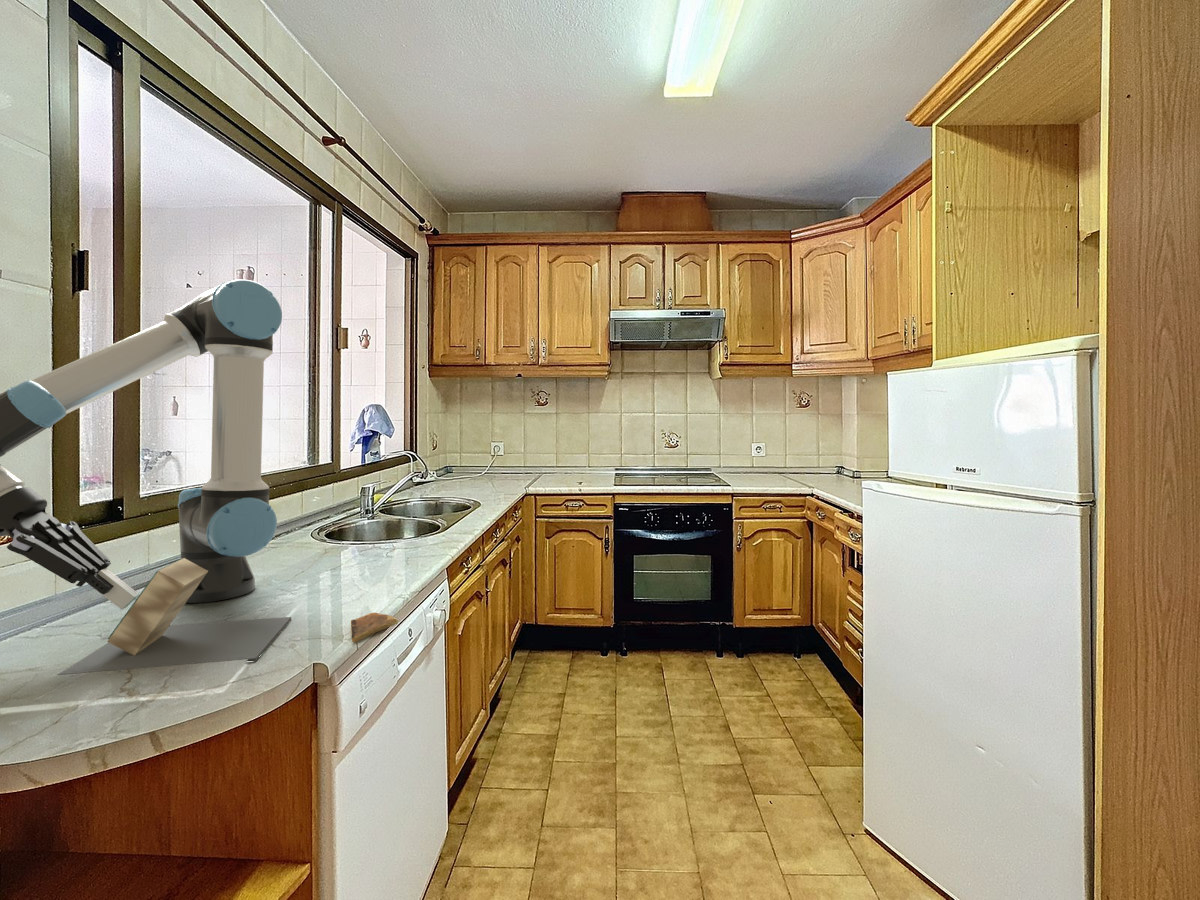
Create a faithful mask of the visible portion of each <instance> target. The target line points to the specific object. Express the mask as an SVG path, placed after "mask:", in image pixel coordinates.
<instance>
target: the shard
mask: <svg viewBox="0 0 1200 900" xmlns="http://www.w3.org/2000/svg"><path fill="white" fill-rule="evenodd" d="M398 623H399V620H398V618H396V617H394V616H392V615H389V614H384V613H381V612H370V613H367V614H365V615H363V616H360V617H358V618H355V619H351V620H350V633H351V640H352V641H351V642H353V643H357V642H359V641H360V640H362V639H365V638H367V637H368V636H371V635H372V634H376V633H377V632H380V631H383V630H385V629H388V628H390V627H393V626H395V625H396V624H397V625H398Z"/></svg>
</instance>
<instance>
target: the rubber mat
mask: <svg viewBox="0 0 1200 900" xmlns="http://www.w3.org/2000/svg"><path fill="white" fill-rule="evenodd" d="M291 621H292V616H289V617H288V616H286V617H285V616H283V617H271V618H259V619H258V618H256V619H255V618H254V619H244V620H242V619H241V620H240V619H239V620H231V621H230V620H227V621H215V622H214V621H213V622H202V623H186V624H170V626H169V627H168V628H167V630H166V631H165V632H164V634H163V635H162V636H161V637H160V638H158V639H157V640H155V641H154V642H153V643H151V644H150V645H149V646H147V647H146V648H144V649H143V650H142V651H140V652H139V653H137V654H136V655H135V656H134V655H132V654H130V653H128V652H126V651H124V650H122V649H120V648H118V647H116V646H114V645H112V644H110V643H108V642H107V643H105V644H104V645H102V646H101V647H99V648H97V649H95V651H93V652H91V653H90V654H88V655H87V656H85V657H84V658H82V659H80V660H79V661H77V662H75V663H73V664H72V665H71V666H69V667H67V668H66V669H65V670H64V669H63V671H61V672H60V673H58V674H57V676H61V675H72V674H73V675H74V674H83V673H84V674H85V673H95V672H108V671H122V670H132V669H146V668H155V667H157V668H158V667H169V666H180V665H192V664H193V665H194V664H203V663H204V664H205V663H215V662H216V663H217V662H218V663H219V662H229V661H239V660H241V661H243V660H246V661H256V660H257V659H258V658H259V656H260V655H261V654H262V653H263V652H264V651H265V652H266V651H267V649H268V648H269V647H270V646H271V645H272V643H273V642H274V641H276V639H277V638H276V637H279V635H280V634H281V633H282V632H283V631H284V630H285V628H286V627H287V626H288V625H289V623H290V622H291ZM281 631H282V632H281ZM270 644H271V645H270ZM269 645H270V646H269ZM268 646H269V647H268ZM266 648H267V649H266ZM265 652H264V653H265ZM264 653H263V654H264ZM263 654H262V655H263ZM262 655H261V656H262ZM261 656H260V657H261ZM259 659H260V658H259ZM259 659H258V660H259ZM258 660H257V661H258ZM257 661H256V662H257Z"/></svg>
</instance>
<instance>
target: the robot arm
mask: <svg viewBox="0 0 1200 900" xmlns="http://www.w3.org/2000/svg"><path fill="white" fill-rule="evenodd" d="M163 317H164V318H163V321H161V322H159V323H157V324H155V325H152V326H150V327H147V328H146V329H144V330H141V331H139V332H137V333H135V334H132V335H130V336H128V337H126V338H123V339H121V340H119V341H116V342H114V343H112V344H109V345H108V346H105V347H103V348H101V349H99V350H96V351H94V352H92V353H90V354H88V355H85V356H82V357H81V358H78V359H76V360H74V361H72V362H68V363H67V364H64V365H63V366H59V367H58V368H56V369H53V370H51V371H49V372H47V373H44V374H42V375H40V376H38V377H36V378H34V379H31V380H25V381H23V382H20V383H19V384H17V385H15V386H12V387H10V388H8V389H7V390H5V391H3V392H2V393H0V458H1V457H3V456H5V455H6V454H7V453H9V452H10V451H12V450H14V449H16V448H18V447H19V446H21V445H22V444H24V443H26V442H27V441H29V440H30V439H32V438H34V437H35V436H37V435H39V434H41V433H42V432H43V431H45V430H46V429H51V428H52V427H53V425H55V424H56V423H57V422H59V421H60V420H62V419H63V418H64V417H66V416H67V415H68V414H70V413H71V412H74V411H76V410H78V409H79V408H82V407H84V406H86V405H89V404H91V403H93V402H95V401H97V400H99V399H101V398H103V397H106V396H107V395H109V394H111V393H113V392H115V391H117V390H119V389H122V388H124V387H126V386H128V385H130V384H131V383H133V382H136V381H138V380H140V379H142V378H144V377H146V376H148V375H150V374H152V373H154V372H156V371H159V370H161V369H162V368H164V367H167V366H169V365H171V364H173V363H175V362H177V361H178V360H179V361H180V360H181V359H183V358H185V357H187V356H190V357H199V356H201V355H204V354H205V353H210V354H211V355H212V356H213V374H212V375H213V377H212V382H213V383H212V417H211V418H212V419H211V420H212V421H211V422H212V423H211V425H212V427H211V460H210V461H211V463H210V467H211V468H210V479H209V480H208V481H207V482H206V483H205V484H203V485H202V486H201V487H197V488H194V487H193V488H188V489H183V490H182V491H180V493H179V495H178V503H177V509H178V523H179V527H178V528H179V544H180V545H179V548H180V551H179V552H180V559H183V558H185V559H187V560H189V561H191V562H193V563H194V564H196V565H198V566H200V567H202V568H204V569H205V570H207V571H208V572H207V574H206V575H205V577H204V578H203V579H202V581H201V582H200V584H199V585H198V586H197V588H196V589H195V591H194V592H193V593H192V595H191V596H190V598H189V599H188V600H187V602H186V603H185V604H197V603H199V604H200V603H208V602H209V603H210V602H211V603H212V602H218V601H224V600H228V599H233V598H237V597H238V598H239V597H240V596H243V595H246V594H249V593H251V592H253V591H254V590H255V589H256V578H255V575H254V573H253V571H252V568H251V567H250V564H249V561H248V559H247V556H251V555H254V554H256V553H258V552H260V551H262V550H263V549H264V548H265V547H266V546H267V545H268V544H269V543H271V541H272V539H273V538H274V536H275V534H276V532H277V531H276V530H277V526H278V520H277V519H278V518H277V515H276V512H275V510H274V509H273V508H272V505H270V486H269V485H268V484H267V482H265V481H263V479H262V454H263V453H262V451H263V450H262V448H263V412H264V411H263V406H264V405H263V404H264V403H263V402H264V375H265V374H264V370H265V369H264V366H265V361H266V359H268V358H269V357H270V356H271V355H272V354H273V353H274V352H273V347H274V345H273V344H274V335H275V334H276V333H277V331H278V330H279V328H280V326H281V324H282V320H283V312H282V306H281V304H280V302H279V299H277V297H276V296H275V294H273V292H272V291H271V290H270V289H269V288H267V287H266V286H264V285H263V284H261V283H259V282H257V281H254V280H249V279H233V280H227V281H224V282H222V283H221V284H219V285H218V286H216V287H213V288H210V289H208V290H206V291H204V292H203V293H201V294H200V295H198V296H197V297H195V298H193V299H192V300H191V301H189V302H187V303H186V304H184V305H182V306H181V307H179V308H177V309H175V310H173V311H171V312H169V313H166V314H165V315H164V316H163ZM47 506H48V501H47V500H46V499H45V498H43V496H41V495H40V494H39V493H37V492H36V491H35V490H34V489H32V488H31V487H29V486H26V483H25V482H24V481H23V480H22V479H20V478H19V477H18V476H16V475H15V474H14V473H12V472H11V471H9V469H7V468H5V466H3V465H1V464H0V537H4V536H9V537H10V538H11V539H12V541H11V542H10V543H9V544H8V545H7V546H6V549H7V550H8V551H11V552H12V553H13V552H14V553H15V554H18V555H21V556H24V557H26V558H27V559H28V560H29V561H32V562H34V563H36V564H38V565H39V566H41V567H42V568H44V569H46V570H48V571H49V572H51V573H53V574H55V575H57V576H58V577H59V578H61V579H63V580H65V581H66V582H68V583H70V584H75V586H77V587H80V588H81V587H83V586H84V585H85V584H87V585H88V586H90V587H91V588H93V589H94V590H95V591H97V592H98V593H99V594H101V596H103V597H105V598H106V599H107V600H109V601H110V602H111V603H112V604H114V605H115V606H116V607H118V608H119V609H120V610H124V609H126V608H127V607H129V606H130V605H131V604H132V603H134V602H135V600H136V599H137V598H138V596H139V595H140V594H141V593H139V592H137V591H136V590H134V589H133V588H132V587H131V586H130V585H128V584H127V583H125V582H124V581H123V580H122V579H120V578H119V577H118V576H117V575H115V574H114V573H113V572H111V571H110V570H109V569H108V567H109V566H110V565H112V562H111V560H110V559H109V558H108V556H107V555H105V553H103V552H102V551H101V550H100V549H99V548H98V546H96V545H95V543H93V541H92V540H90V538H88V536H87V535H86V534H84V532H83V531H82V530H81V528H80V527H79V525H78V523H77V522H75V521H73V520H70V521H68V522H67V524H65V523H62V522H60V521H59V520H58V518H57V517H55V516H52V515H50V514H48V513H46V508H47ZM77 582H78V583H77Z"/></svg>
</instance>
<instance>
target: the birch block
mask: <svg viewBox="0 0 1200 900" xmlns="http://www.w3.org/2000/svg"><path fill="white" fill-rule="evenodd" d="M207 572H208V571H207V570H205V569H204V568H202V567H200V566H198V565H196V564H194V563H193V562H191V561H189V560H187V559H185V558H183V559H181V558H180V559H179V560H176V561H175V562H173V563H170V564H168V565H167V566H164V567H163V568H162V567H161V568H160V569H158V570H156V571H155V572H154V574H153V575H152V577H151V579H150V580H149V581H148V583H147V584H146V585H145V586H144V588H143V590H142V591H141V592H140V593H139V594H140V595H139V596H138V597H137V598H136V599H135V600H134V601H133V602H132V605H131V606H130V607H129V609H128V610H127V612H125V615H124V616H123V617H122V618H121V620H120V621H119V622H118V624H117V625H116V627H114V630H113V631H112V632H111V633H110V635H109V636H108V638H107V641H106V642H107V643H110V644H112V645H114V646H116V647H118V648H120V649H122V650H124V651H126V652H128V653H130V654H132V655H134V656H135V655H136V654H137V653H139V652H140V651H142V650H143V649H144V648H146V647H147V646H149V645H150V644H151V643H153V642H154V641H155V640H157V639H158V638H160V637H161V636H162V635H163V634H164V632H165V631H166V630H167V628H168V627H169V626H170V625H172V623H173V622H174V620H175V619H176V618H177V616H178V614H179V613H180V612H181V610H183V607H184V606H185V604H187V603H186V602H187V600H188V599H189V598H190V596H191V595H192V593H193V592H194V591H195V589H196V588H197V586H198V585H199V584H200V582H201V581H202V579H203V578H204V577H205V575H206V574H207Z"/></svg>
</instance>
